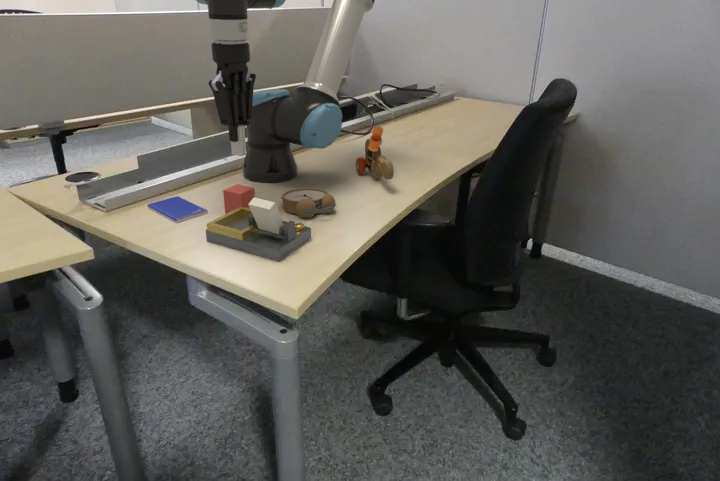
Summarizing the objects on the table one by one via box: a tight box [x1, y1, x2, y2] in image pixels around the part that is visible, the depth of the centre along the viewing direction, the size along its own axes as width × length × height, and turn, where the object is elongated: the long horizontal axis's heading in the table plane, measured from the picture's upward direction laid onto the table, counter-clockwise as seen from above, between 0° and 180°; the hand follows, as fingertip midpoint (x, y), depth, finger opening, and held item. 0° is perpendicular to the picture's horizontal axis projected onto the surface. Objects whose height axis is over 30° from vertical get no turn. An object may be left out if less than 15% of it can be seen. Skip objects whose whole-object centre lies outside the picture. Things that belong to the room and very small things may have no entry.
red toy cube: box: [222, 183, 256, 215], centre depth 120 cm, size 5×5×6 cm
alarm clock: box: [280, 187, 337, 219], centre depth 124 cm, size 11×5×15 cm
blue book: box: [147, 195, 209, 224], centre depth 121 cm, size 2×8×12 cm
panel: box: [205, 207, 312, 262], centre depth 108 cm, size 12×18×6 cm, turn 63°
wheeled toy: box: [355, 126, 395, 180], centre depth 142 cm, size 8×21×14 cm, turn 16°
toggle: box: [248, 197, 284, 236], centre depth 103 cm, size 2×6×8 cm, turn 63°
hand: (239, 154), depth 115 cm, fingers closed
